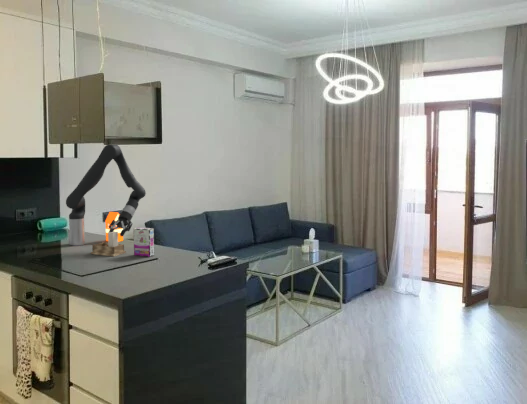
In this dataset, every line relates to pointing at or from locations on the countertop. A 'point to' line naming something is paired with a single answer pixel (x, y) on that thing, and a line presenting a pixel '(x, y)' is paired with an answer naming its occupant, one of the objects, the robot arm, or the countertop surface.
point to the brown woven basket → (108, 249)
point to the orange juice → (108, 221)
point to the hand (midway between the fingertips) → (115, 235)
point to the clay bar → (112, 239)
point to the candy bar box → (144, 242)
